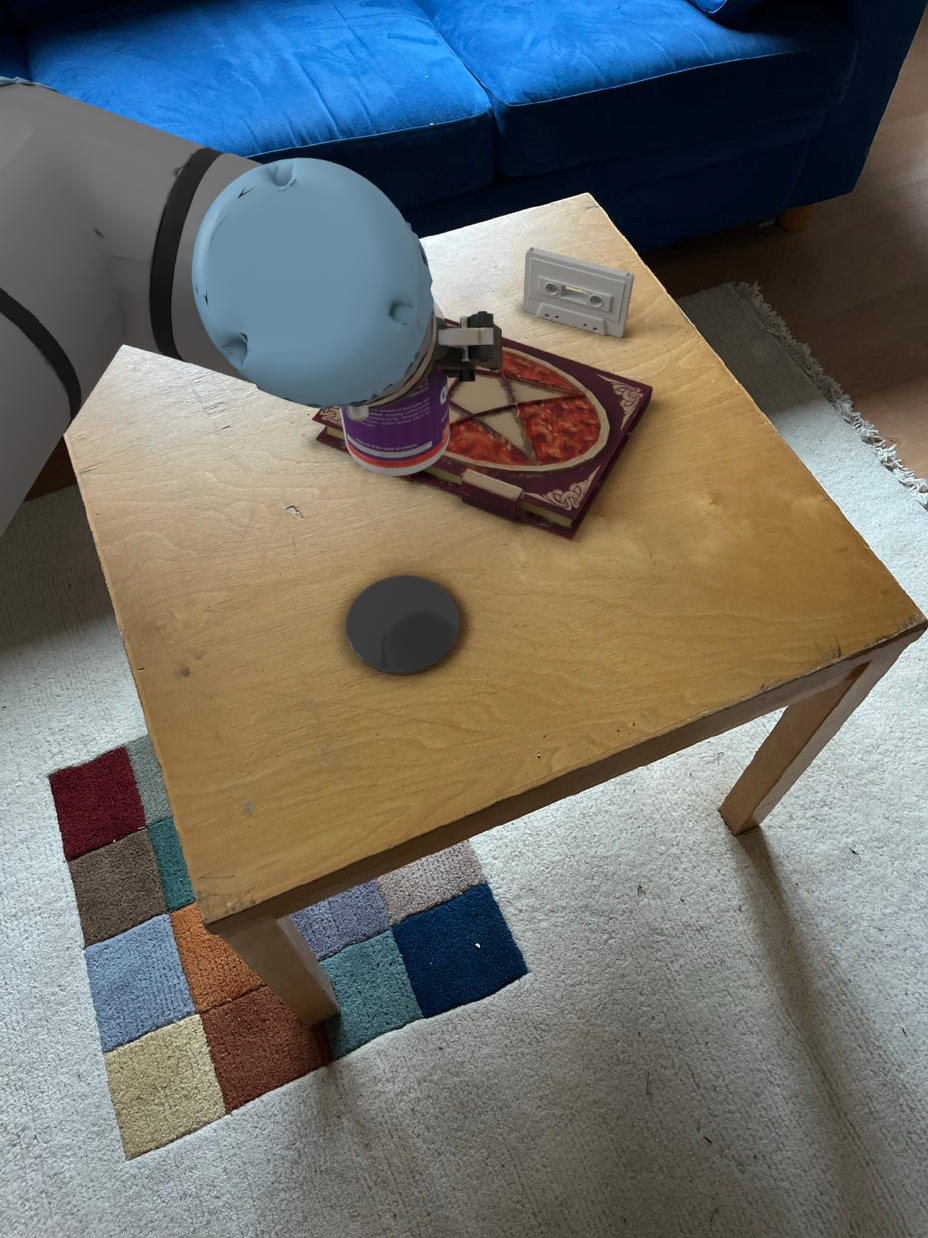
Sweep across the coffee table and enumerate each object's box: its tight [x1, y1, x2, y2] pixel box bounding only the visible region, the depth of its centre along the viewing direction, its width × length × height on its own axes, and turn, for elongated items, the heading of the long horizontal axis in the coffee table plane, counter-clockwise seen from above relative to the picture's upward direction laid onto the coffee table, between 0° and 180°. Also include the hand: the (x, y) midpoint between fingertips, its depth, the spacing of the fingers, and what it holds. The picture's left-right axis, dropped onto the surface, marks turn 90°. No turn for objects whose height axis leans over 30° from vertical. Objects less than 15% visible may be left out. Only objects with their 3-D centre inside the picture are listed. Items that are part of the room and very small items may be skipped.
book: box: [311, 317, 654, 540], centre depth 87 cm, size 28×21×5 cm
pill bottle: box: [339, 300, 450, 477], centre depth 60 cm, size 8×8×14 cm
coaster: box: [345, 574, 461, 676], centre depth 76 cm, size 10×10×1 cm
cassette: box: [522, 246, 635, 338], centre depth 94 cm, size 12×2×8 cm, turn 66°
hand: (393, 360), depth 64 cm, fingers closed on pill bottle, 8 cm apart
